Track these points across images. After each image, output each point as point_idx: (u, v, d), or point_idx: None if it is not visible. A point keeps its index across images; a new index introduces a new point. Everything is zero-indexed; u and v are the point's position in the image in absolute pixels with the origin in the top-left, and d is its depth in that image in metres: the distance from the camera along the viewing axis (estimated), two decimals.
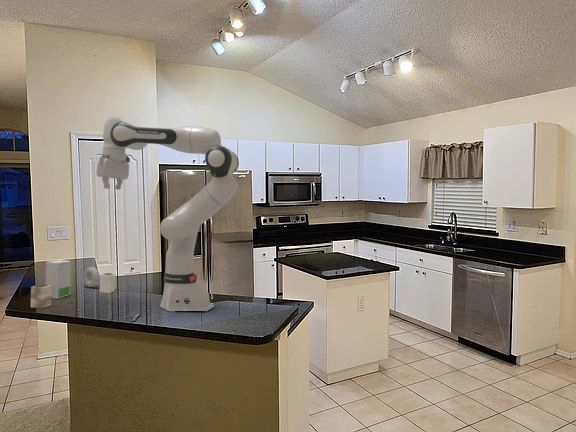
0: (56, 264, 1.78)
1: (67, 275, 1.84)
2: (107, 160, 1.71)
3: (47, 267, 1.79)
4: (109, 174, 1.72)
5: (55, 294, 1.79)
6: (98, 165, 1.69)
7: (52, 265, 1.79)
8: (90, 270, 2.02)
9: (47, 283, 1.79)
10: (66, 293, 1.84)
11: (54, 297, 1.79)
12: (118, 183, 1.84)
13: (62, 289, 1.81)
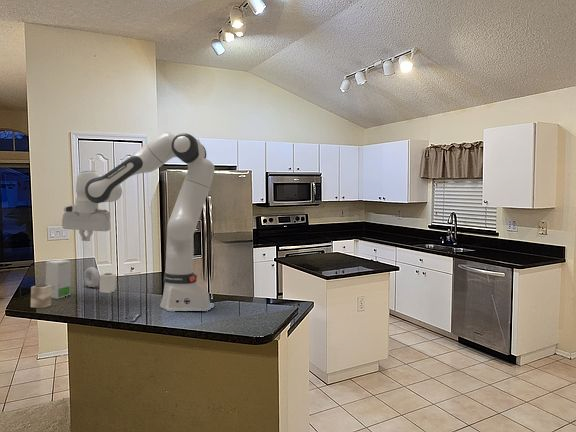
0: (56, 264, 1.78)
1: (67, 275, 1.84)
2: None
3: (47, 267, 1.79)
4: None
5: (55, 294, 1.79)
6: (106, 221, 1.79)
7: (52, 265, 1.79)
8: (90, 270, 2.02)
9: (47, 283, 1.79)
10: (66, 293, 1.84)
11: (54, 297, 1.79)
12: (82, 234, 1.81)
13: (62, 289, 1.81)
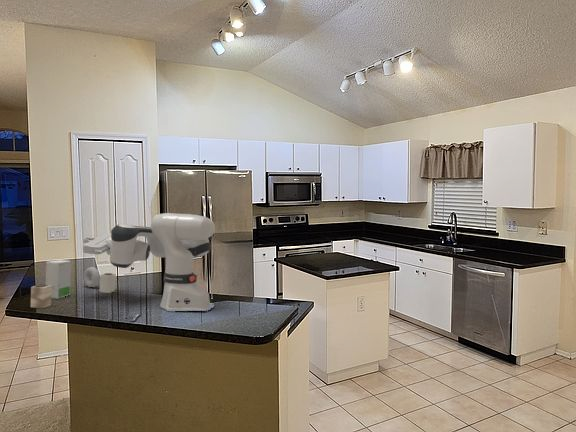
0: (56, 264, 1.78)
1: (67, 275, 1.84)
2: None
3: (47, 267, 1.79)
4: None
5: (55, 294, 1.79)
6: (92, 248, 1.78)
7: (52, 265, 1.79)
8: (90, 270, 2.02)
9: (47, 283, 1.79)
10: (66, 293, 1.84)
11: (54, 297, 1.79)
12: (92, 239, 1.90)
13: (62, 289, 1.81)
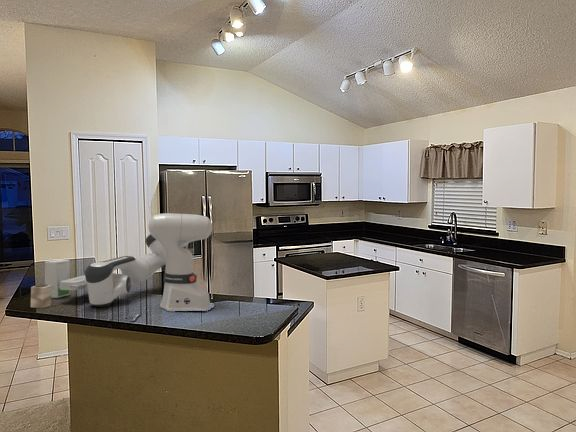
0: (55, 263, 1.79)
1: (66, 274, 1.84)
2: (77, 289, 1.72)
3: (46, 267, 1.79)
4: None
5: (55, 293, 1.79)
6: (69, 283, 1.71)
7: (51, 265, 1.79)
8: None
9: (46, 283, 1.79)
10: (66, 293, 1.84)
11: (54, 296, 1.79)
12: None
13: None
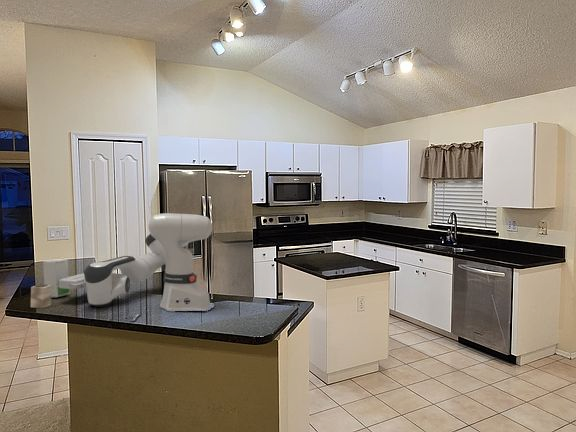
0: (53, 262, 1.79)
1: (65, 273, 1.84)
2: (76, 288, 1.73)
3: (44, 267, 1.80)
4: None
5: (55, 292, 1.79)
6: (68, 282, 1.71)
7: (49, 264, 1.79)
8: None
9: (46, 283, 1.79)
10: (66, 292, 1.84)
11: (54, 296, 1.79)
12: None
13: None
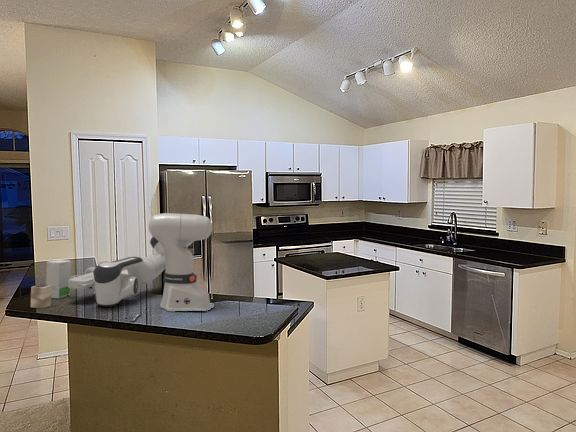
0: (57, 264, 1.79)
1: (67, 274, 1.84)
2: (85, 288, 1.73)
3: (48, 267, 1.79)
4: None
5: (56, 294, 1.79)
6: (77, 282, 1.72)
7: (53, 265, 1.79)
8: (90, 270, 2.02)
9: (48, 283, 1.79)
10: (66, 293, 1.84)
11: (55, 297, 1.79)
12: None
13: (63, 288, 1.82)
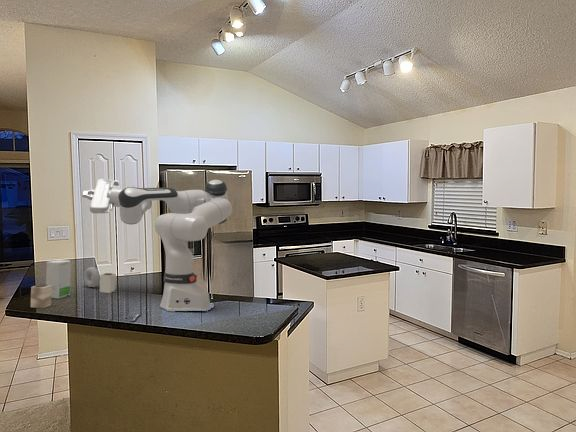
0: (57, 264, 1.79)
1: (67, 274, 1.84)
2: None
3: (47, 267, 1.79)
4: None
5: (56, 294, 1.79)
6: (100, 209, 1.87)
7: (53, 265, 1.79)
8: (90, 270, 2.02)
9: (48, 283, 1.79)
10: (66, 293, 1.84)
11: (55, 297, 1.79)
12: (89, 192, 1.93)
13: (63, 288, 1.82)
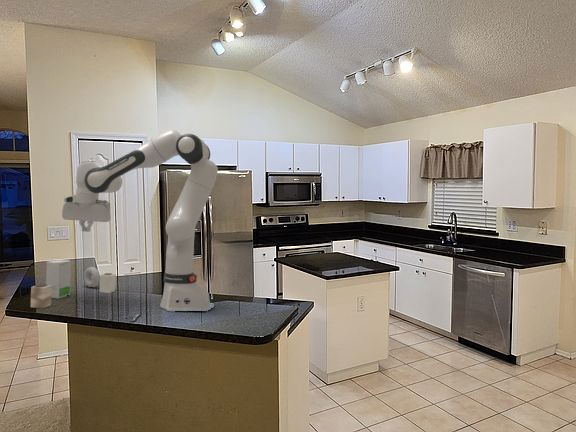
0: (57, 264, 1.79)
1: (67, 274, 1.84)
2: None
3: (47, 267, 1.79)
4: None
5: (56, 294, 1.79)
6: (106, 211, 1.79)
7: (53, 265, 1.79)
8: (90, 270, 2.02)
9: (48, 283, 1.79)
10: (66, 293, 1.84)
11: (55, 297, 1.79)
12: (83, 225, 1.81)
13: (63, 288, 1.82)
